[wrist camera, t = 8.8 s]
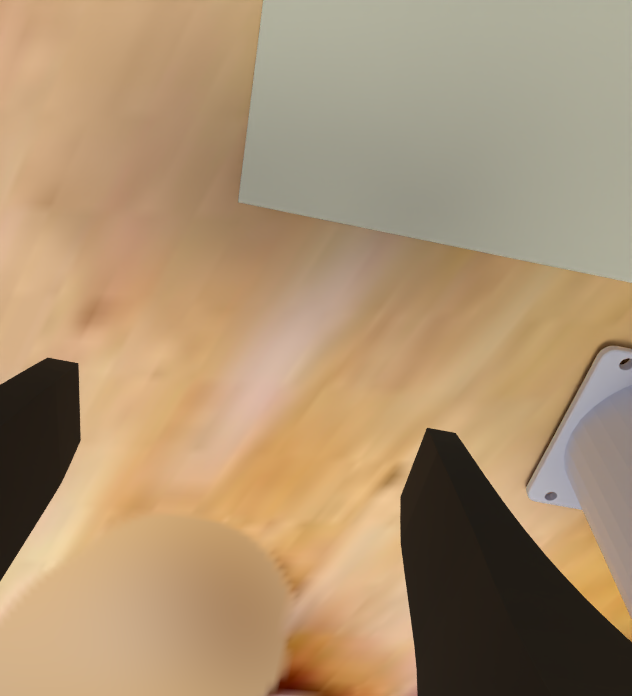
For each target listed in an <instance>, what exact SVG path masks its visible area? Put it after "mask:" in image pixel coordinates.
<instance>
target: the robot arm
mask: <svg viewBox="0 0 632 696" xmlns="http://www.w3.org/2000/svg"><path fill="white" fill-rule="evenodd" d="M627 358H630V359H629V361H628V362H627V363H625V364H620V362H621V361H622V360H624V359H627ZM80 440H81V439H80V404H79V369H78V363H74V362H68V361H63V360H58V359H52V358H46V359H45V360H43V361H41V362H39V363H37V364H35V365H34V366H32V367H30V368H28V369H27V370H25V371H23V372H21V373H20V374H18V375H16V376H15V377H13V378H11V379H9V380H8V381H6V382H4V383H3V384H1V385H0V581H1V579H2V578H3V576H4V574H5V573H6V571H7V570H8V568H9V566H10V565H11V563H12V562H13V560H14V559H15V557H16V555H17V554H18V552H19V551H20V549H21V547H22V546H23V544H24V543H25V541H26V539H27V538H28V536H29V535H30V533H31V531H32V530H33V528H34V527H35V525H36V523H37V522H38V520H39V519H40V517H41V515H42V514H43V512H44V511H45V509H46V507H47V506H48V504H49V502H50V501H51V499H52V498H53V496H54V494H55V493H56V491H57V489H58V488H59V486H60V484H61V483H62V480H63V478H64V476H65V474H66V472H67V470H68V468H69V465H70V463H71V461H72V459H73V456H74V454H75V452H76V450H77V447H78V445H79V443H80ZM526 492H527V494H528V497H529V498H530V499H531V500H532V501H536V502H541V503H547V504H552V505H558V506H563V507H569V508H575V509H580V510H583V512H584V514H585V517H586V519H587V521H588V523H589V525H590V528H591V530H592V532H593V534H594V537H595V539H596V541H597V543H598V545H599V548H600V550H601V552H602V554H603V556H604V559H605V561H606V563H607V565H608V568H609V570H610V572H611V574H612V576H613V579H614V581H615V583H616V585H617V587H618V590H619V592H620V594H621V596H622V599H623V601H624V603H625V605H626V607H627V610H628V612H629V614H630V616H631V618H632V349H630V348H625V347H620V346H608V347H605V348H604V349H602V350H601V351H600V352H599V353H598V355H597V356H596V358H595V360H594V362H593V364H592V366H591V368H590V369H589V371H588V373H587V375H586V377H585V379H584V381H583V382H582V384H581V386H580V388H579V390H578V392H577V394H576V396H575V397H574V399H573V401H572V403H571V405H570V407H569V409H568V410H567V412H566V414H565V416H564V418H563V420H562V422H561V423H560V425H559V427H558V429H557V431H556V433H555V435H554V437H553V438H552V440H551V442H550V444H549V446H548V448H547V450H546V451H545V453H544V455H543V457H542V459H541V461H540V463H539V464H538V466H537V468H536V470H535V472H534V474H533V476H532V478H531V479H530V481H529V483H528V485H527V487H526ZM549 492H552V493H550V494H547V493H549ZM400 524H401V548H402V556H403V564H404V572H405V579H406V587H407V594H408V601H409V609H410V616H411V624H412V631H413V638H414V646H415V656H416V667H417V690H418V696H632V642H631V641H630V640H629V639H627V638H626V637H625V636H624V635H623V634H622V633H621V632H620V631H619V630H618V629H617V628H616V627H615V626H613V625H612V624H611V623H610V622H609V621H608V620H607V619H606V618H605V617H604V616H603V615H602V614H601V613H600V612H599V611H598V610H597V609H596V608H595V607H594V606H593V605H592V604H591V603H590V602H589V601H587V600H586V598H585V597H584V596H583V595H582V594H581V593H580V592H579V591H578V590H577V589H576V588H575V587H574V586H573V585H572V584H571V583H570V582H569V580H568V579H567V578H566V577H565V576H564V575H563V574H562V573H561V572H560V571H559V570H558V569H557V568H556V566H555V565H554V564H553V563H552V562H551V561H550V560H549V559H548V557H547V556H546V555H545V554H544V553H543V552H542V550H541V549H540V548H539V547H538V545H537V544H536V543H535V542H534V541H533V539H532V538H531V537H530V536H529V534H528V533H527V532H526V531H525V530H524V528H523V527H522V526H521V524H520V523H519V522H518V521H517V519H516V518H515V517H514V515H513V514H512V513H511V511H510V510H509V509H508V507H507V506H506V505H505V503H504V502H503V501H502V499H501V498H500V496H499V495H498V494H497V492H496V491H495V489H494V488H493V487H492V485H491V484H490V482H489V481H488V480H487V478H486V477H485V475H484V474H483V472H482V471H481V469H480V468H479V466H478V465H477V464H476V462H475V461H474V459H473V458H472V456H471V455H470V453H469V452H468V450H467V449H466V447H465V446H464V444H463V443H462V442H461V440H460V439H459V437H458V436H457V434H456V433H452V432H447V431H442V430H436V429H431V428H427V429H426V432H425V434H424V437H423V440H422V442H421V445H420V448H419V450H418V453H417V455H416V458H415V461H414V463H413V466H412V468H411V471H410V474H409V476H408V479H407V482H406V484H405V487H404V489H403V492H402V495H401V515H400Z"/></svg>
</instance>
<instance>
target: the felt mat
mask: <svg viewBox="0 0 632 696" xmlns="http://www.w3.org/2000/svg"><path fill="white" fill-rule="evenodd" d="M238 202H239V203H244V204H249V205H254V206H259V207H264V208H269V209H274V210H278V211H283V212H288V213H293V214H298V215H303V216H308V217H313V218H318V219H322V220H327V221H332V222H337V223H342V224H347V225H352V226H357V227H362V228H366V229H371V230H376V231H381V232H386V233H391V234H396V235H401V236H406V237H410V238H415V239H420V240H425V241H430V242H435V243H440V244H445V245H450V246H454V247H459V248H464V249H469V250H474V251H479V252H484V253H489V254H494V255H498V256H503V257H508V258H513V259H518V260H523V261H528V262H533V263H538V264H542V265H547V266H552V267H557V268H562V269H567V270H572V271H577V272H582V273H586V274H591V275H596V276H601V277H606V278H611V279H616V280H621V281H626V282H630V283H632V0H263V7H262V15H261V23H260V31H259V39H258V47H257V55H256V63H255V71H254V79H253V87H252V95H251V103H250V111H249V119H248V127H247V135H246V143H245V151H244V159H243V167H242V175H241V183H240V191H239V199H238Z"/></svg>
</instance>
